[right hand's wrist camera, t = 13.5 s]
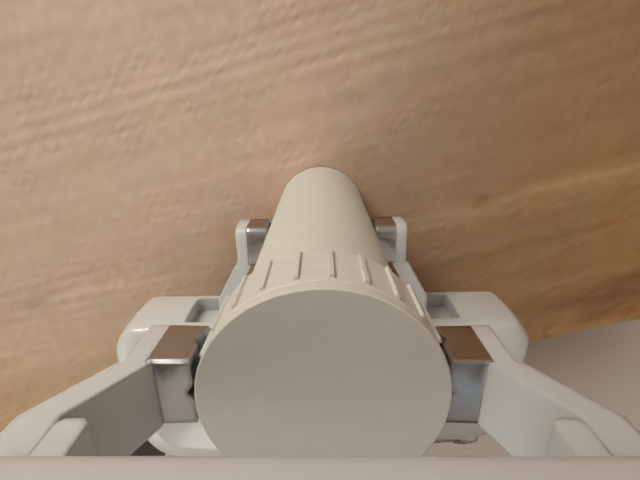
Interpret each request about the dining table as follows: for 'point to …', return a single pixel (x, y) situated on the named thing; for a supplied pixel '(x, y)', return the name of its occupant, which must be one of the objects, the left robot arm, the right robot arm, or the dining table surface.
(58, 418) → the right robot arm
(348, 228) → the jar
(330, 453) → the lid
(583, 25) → the dining table surface
